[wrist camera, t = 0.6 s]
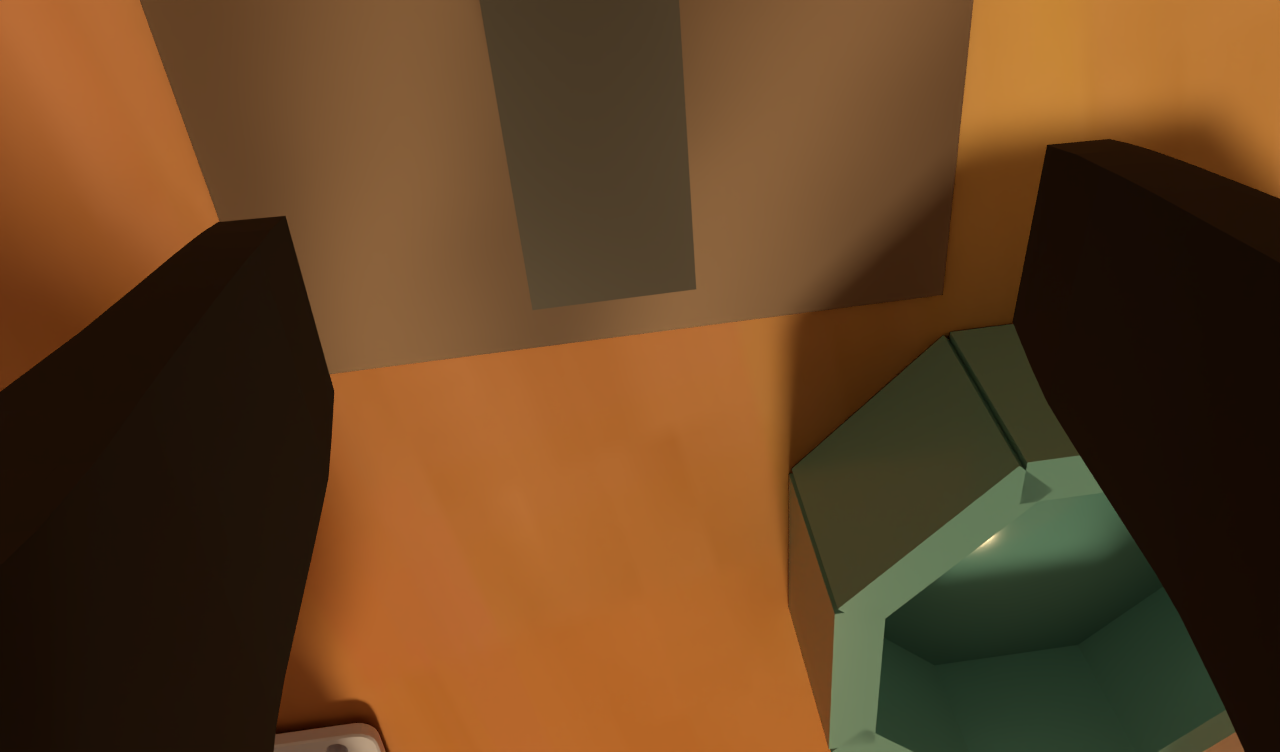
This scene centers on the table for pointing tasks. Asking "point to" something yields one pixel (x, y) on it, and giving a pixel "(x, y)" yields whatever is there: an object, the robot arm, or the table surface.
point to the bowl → (981, 578)
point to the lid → (576, 159)
